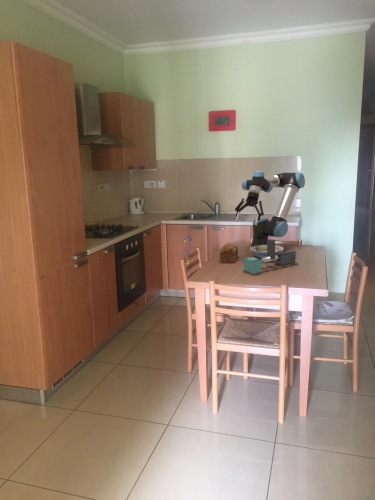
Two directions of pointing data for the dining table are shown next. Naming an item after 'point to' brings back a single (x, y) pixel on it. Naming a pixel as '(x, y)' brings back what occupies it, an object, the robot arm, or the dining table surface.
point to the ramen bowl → (263, 250)
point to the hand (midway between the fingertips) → (246, 223)
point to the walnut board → (270, 268)
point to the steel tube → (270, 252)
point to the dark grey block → (285, 257)
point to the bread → (229, 254)
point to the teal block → (252, 265)
